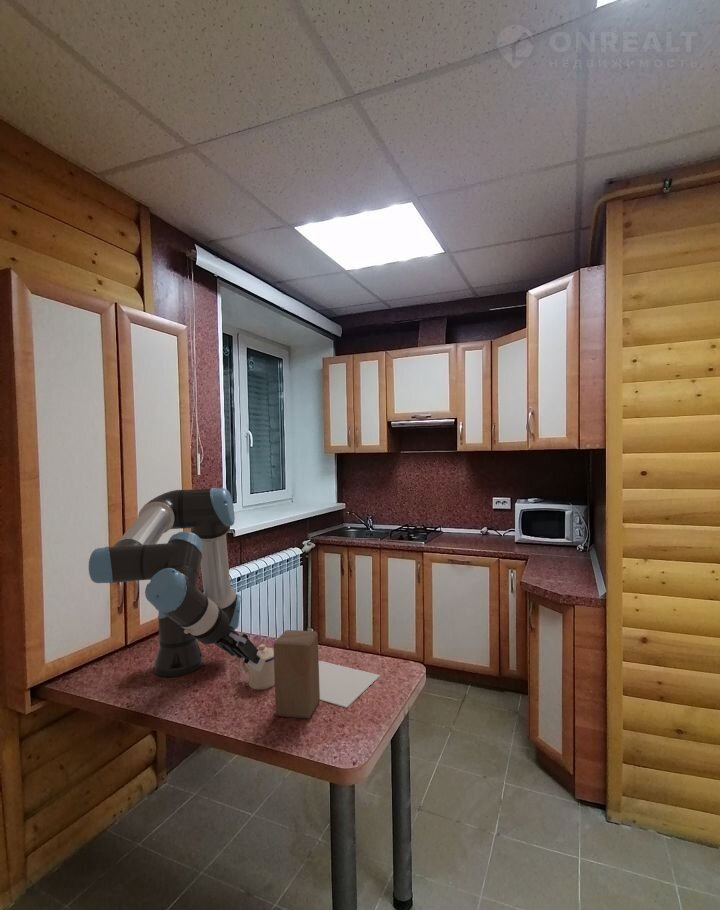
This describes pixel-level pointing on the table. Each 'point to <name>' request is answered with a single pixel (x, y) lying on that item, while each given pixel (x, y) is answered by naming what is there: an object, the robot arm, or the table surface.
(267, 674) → the teacup with lid
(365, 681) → the mat
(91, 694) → the table surface
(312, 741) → the table surface
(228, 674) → the table surface
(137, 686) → the table surface
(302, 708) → the block
